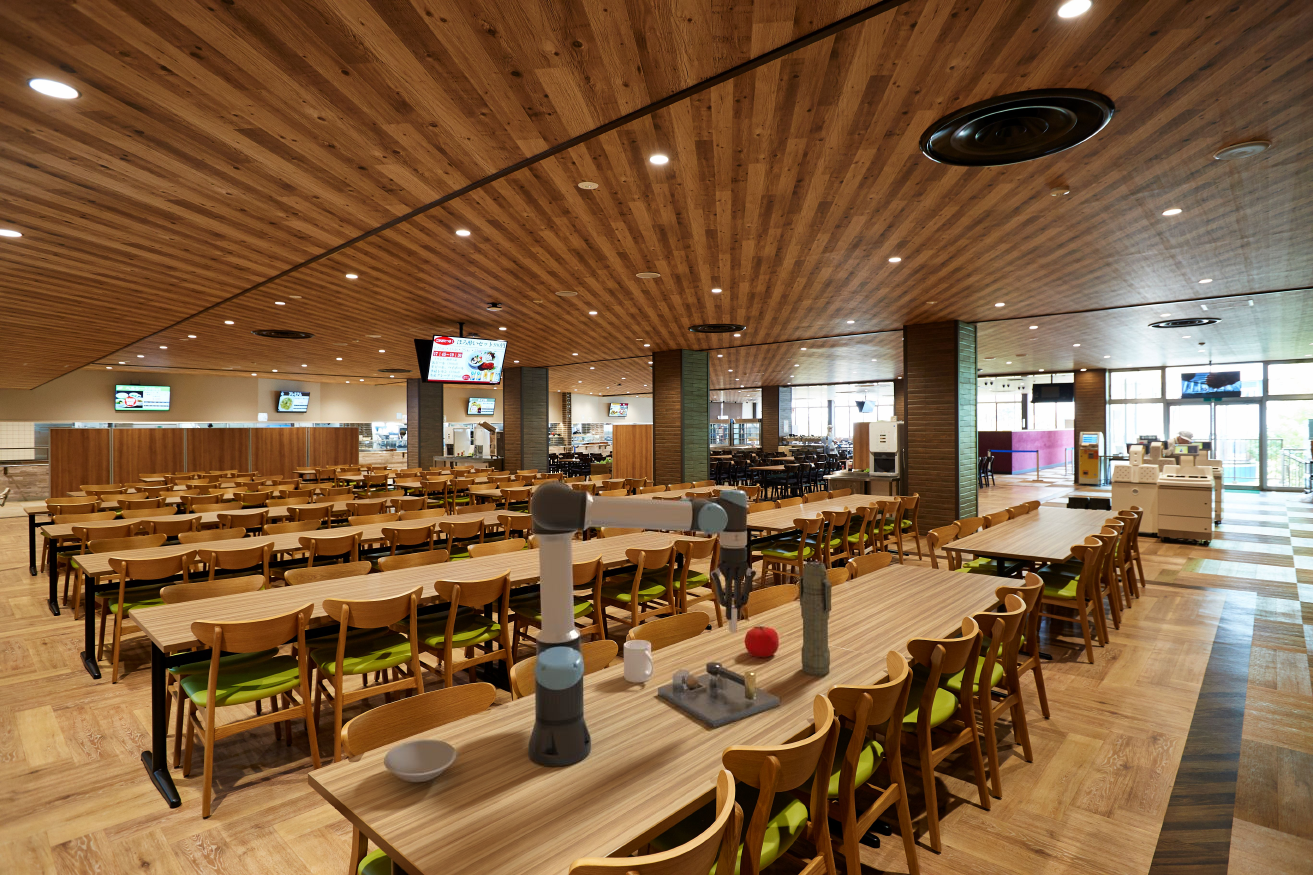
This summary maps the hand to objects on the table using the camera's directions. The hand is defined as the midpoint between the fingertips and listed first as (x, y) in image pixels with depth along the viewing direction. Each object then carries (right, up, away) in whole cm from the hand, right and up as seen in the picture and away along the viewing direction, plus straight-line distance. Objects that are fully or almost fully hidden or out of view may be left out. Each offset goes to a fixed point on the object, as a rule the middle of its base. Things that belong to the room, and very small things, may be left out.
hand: (732, 630), depth 171 cm
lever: (0, -19, +8) cm, 21 cm away
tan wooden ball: (-11, -20, +11) cm, 26 cm away
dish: (-74, -23, -32) cm, 84 cm away
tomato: (+15, -22, +44) cm, 52 cm away
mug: (-26, -23, +23) cm, 42 cm away
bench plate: (-3, -22, +8) cm, 24 cm away
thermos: (+31, -22, +29) cm, 48 cm away
